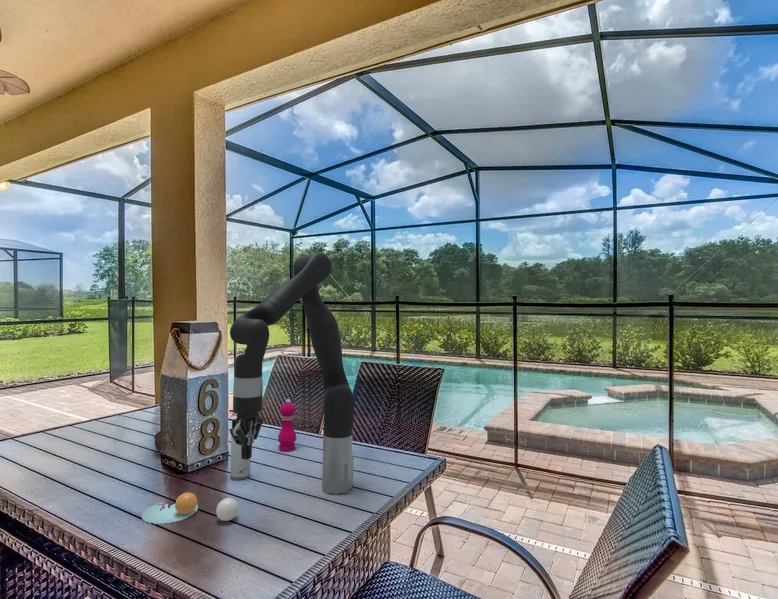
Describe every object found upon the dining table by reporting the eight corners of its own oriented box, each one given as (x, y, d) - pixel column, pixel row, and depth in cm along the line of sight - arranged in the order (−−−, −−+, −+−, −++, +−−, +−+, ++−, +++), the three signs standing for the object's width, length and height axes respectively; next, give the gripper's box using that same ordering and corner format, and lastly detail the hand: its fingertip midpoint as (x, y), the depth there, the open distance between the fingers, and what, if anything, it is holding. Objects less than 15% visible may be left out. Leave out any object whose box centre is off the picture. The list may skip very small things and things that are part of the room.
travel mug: (244, 481, 144) (246, 420, 144) (226, 479, 145) (228, 418, 145) (254, 474, 150) (255, 415, 150) (236, 472, 151) (238, 414, 151)
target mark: (208, 503, 127) (208, 502, 127) (174, 527, 114) (174, 526, 114) (167, 497, 131) (167, 497, 131) (129, 520, 117) (129, 519, 117)
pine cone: (144, 452, 169) (145, 426, 169) (170, 445, 177) (171, 421, 177) (167, 463, 158) (167, 435, 158) (193, 455, 166) (194, 429, 166)
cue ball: (229, 490, 121) (220, 507, 122) (217, 499, 116) (208, 517, 116) (245, 501, 120) (236, 519, 121) (234, 511, 115) (225, 529, 115)
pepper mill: (280, 453, 171) (281, 401, 171) (275, 447, 178) (276, 398, 178) (298, 450, 174) (299, 400, 175) (293, 445, 181) (294, 396, 181)
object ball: (191, 485, 124) (181, 499, 125) (177, 493, 119) (166, 508, 119) (205, 498, 123) (194, 513, 124) (191, 507, 117) (180, 522, 118)
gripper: (247, 399, 110) (245, 469, 110) (272, 389, 123) (271, 451, 123) (220, 397, 112) (219, 465, 111) (248, 388, 125) (247, 449, 124)
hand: (246, 458), depth 117 cm, fingers closed
